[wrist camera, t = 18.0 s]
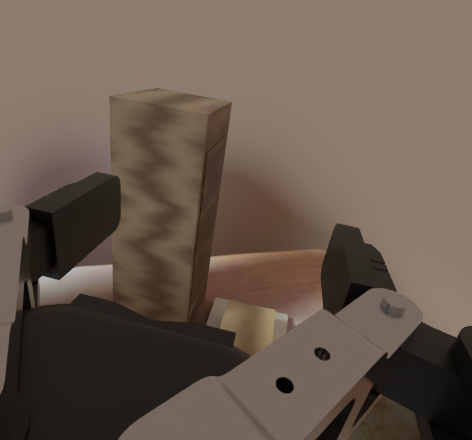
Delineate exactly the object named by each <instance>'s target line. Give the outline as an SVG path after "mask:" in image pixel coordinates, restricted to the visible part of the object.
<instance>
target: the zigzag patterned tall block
mask: <svg viewBox="0 0 472 440" xmlns="http://www.w3.org/2000/svg"><path fill="white" fill-rule="evenodd" d="M231 105H232V102H230V101H224V100H219V99H213V98H208V97H202V96H197V95H191V94H186V93H181V92H175V91H169V90H164V89H159V88H156V89H150V90H143V91H137V92H131V93H125V94H119V95H113V96H110V143H111V144H110V145H111V175H114V176H118V177H119V179H120V183H121V218H120V222H119V225H118V227H117V229H116V230H115V231H114V232H113V233H112V252H113V302H116V303H119V304H121V305H123V306H125V307H127V308H129V309H131V310H132V311H134V312H136V313H138V314H140V315H142V316H144V317H146V318H148V319H151V320H156V321H174V322H192V323H195V320H196V318H197V315H198V313H199V311H200V308H201V306H202V303H203V301H204V299H205V293H206V286H207V279H208V271H209V264H210V257H211V250H212V242H213V235H214V228H215V221H216V214H217V206H218V199H219V191H220V185H221V177H222V170H223V163H224V155H225V148H226V141H227V133H228V127H229V120H230V111H231Z"/></svg>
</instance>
